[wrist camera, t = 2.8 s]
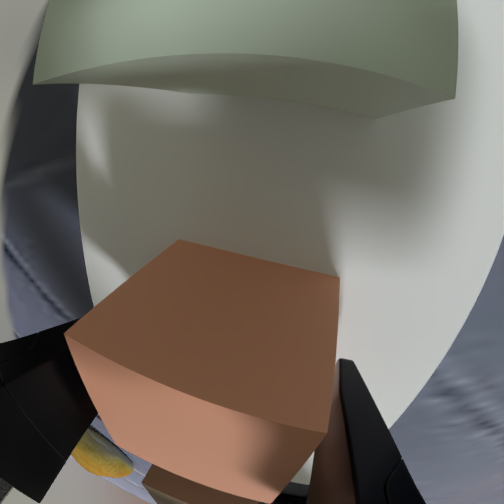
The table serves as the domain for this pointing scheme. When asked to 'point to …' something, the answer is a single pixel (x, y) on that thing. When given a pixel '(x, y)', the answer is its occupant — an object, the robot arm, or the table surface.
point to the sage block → (260, 49)
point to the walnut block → (185, 490)
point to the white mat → (314, 200)
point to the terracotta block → (214, 366)
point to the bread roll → (101, 456)
